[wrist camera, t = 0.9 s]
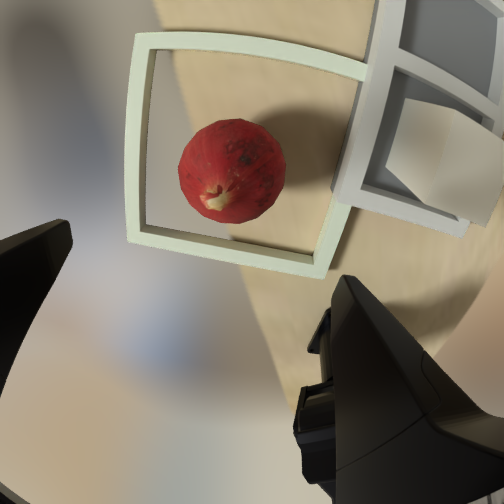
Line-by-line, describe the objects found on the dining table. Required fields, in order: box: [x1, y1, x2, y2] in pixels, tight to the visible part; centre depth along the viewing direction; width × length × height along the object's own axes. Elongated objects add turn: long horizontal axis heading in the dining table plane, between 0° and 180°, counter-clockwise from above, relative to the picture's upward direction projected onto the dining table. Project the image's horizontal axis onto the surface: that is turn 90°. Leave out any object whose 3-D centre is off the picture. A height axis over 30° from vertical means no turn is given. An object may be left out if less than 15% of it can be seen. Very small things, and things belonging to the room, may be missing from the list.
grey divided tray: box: [331, 0, 504, 239], centre depth 13 cm, size 20×11×2 cm, turn 170°
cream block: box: [385, 98, 504, 228], centre depth 13 cm, size 5×5×6 cm
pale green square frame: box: [124, 32, 368, 280], centre depth 18 cm, size 16×16×1 cm
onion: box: [178, 119, 286, 224], centre depth 15 cm, size 6×6×8 cm
